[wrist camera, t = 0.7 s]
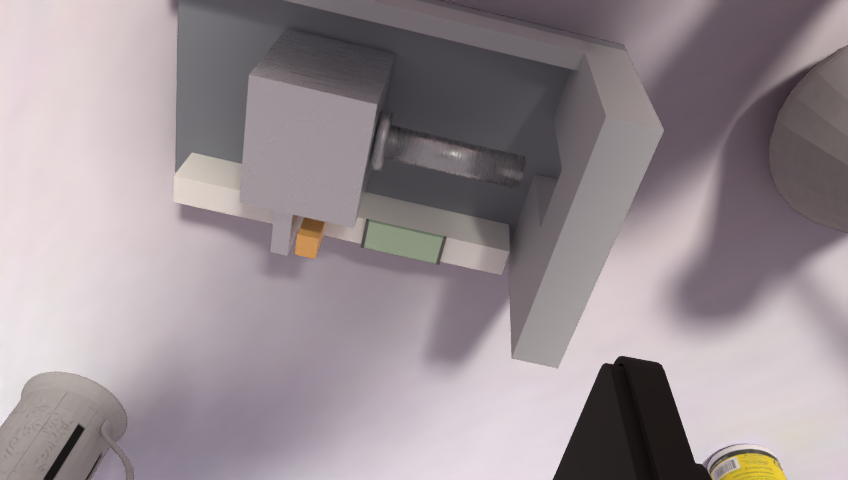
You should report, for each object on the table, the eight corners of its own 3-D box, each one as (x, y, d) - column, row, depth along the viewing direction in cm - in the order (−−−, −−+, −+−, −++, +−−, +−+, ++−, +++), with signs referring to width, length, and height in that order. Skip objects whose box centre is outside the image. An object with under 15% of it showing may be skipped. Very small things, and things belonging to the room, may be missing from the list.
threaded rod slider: (286, 28, 38) (248, 74, 32) (537, 88, 39) (545, 143, 33) (268, 199, 44) (234, 263, 38) (485, 248, 45) (484, 318, 39)
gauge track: (185, -62, 37) (85, -7, 28) (623, 45, 38) (664, 130, 29) (181, 168, 45) (101, 268, 36) (545, 250, 46) (557, 368, 37)
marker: (305, 213, 41) (297, 234, 39) (326, 218, 41) (318, 239, 39) (303, 233, 41) (294, 254, 40) (323, 237, 41) (315, 259, 40)
